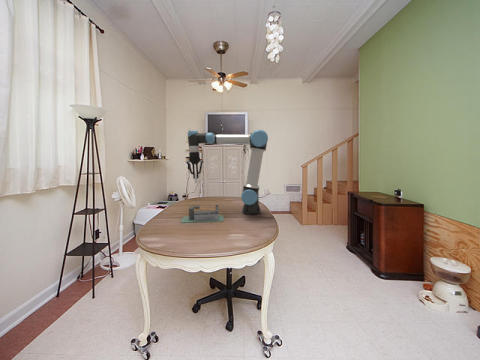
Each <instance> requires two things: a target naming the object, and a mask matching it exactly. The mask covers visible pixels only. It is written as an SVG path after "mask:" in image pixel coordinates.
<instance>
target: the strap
mask: <svg viewBox="0 0 480 360" xmlns="http://www.w3.org/2000/svg"><path fill="white" fill-rule="evenodd" d="M197 210H213V211H216V209H215V207H211V208H210V207H200V208H195V209H194V211H197Z"/></svg>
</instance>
